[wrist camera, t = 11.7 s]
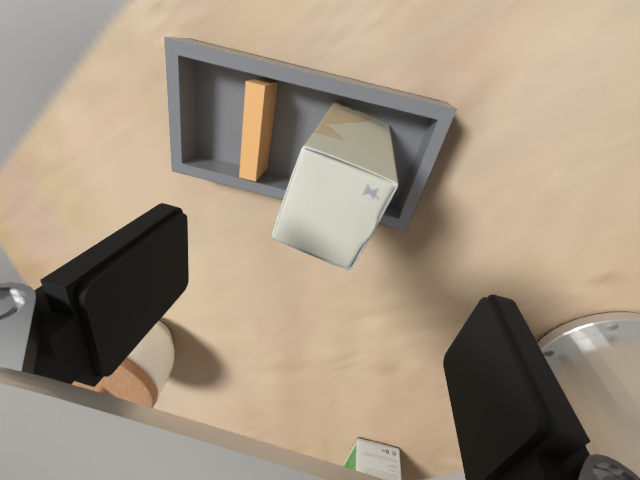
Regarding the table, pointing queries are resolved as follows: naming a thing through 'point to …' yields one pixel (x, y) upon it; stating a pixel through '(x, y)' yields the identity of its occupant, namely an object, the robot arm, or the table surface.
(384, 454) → the skincare box
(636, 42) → the table surface
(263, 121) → the block
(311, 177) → the box
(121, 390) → the lidded jar
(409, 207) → the gray tray
